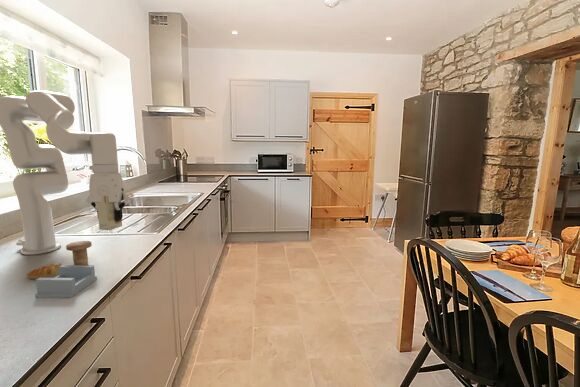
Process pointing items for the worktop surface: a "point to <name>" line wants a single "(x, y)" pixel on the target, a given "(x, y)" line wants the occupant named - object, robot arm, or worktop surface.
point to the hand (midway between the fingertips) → (110, 219)
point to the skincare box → (107, 215)
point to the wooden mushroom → (79, 251)
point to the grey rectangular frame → (66, 282)
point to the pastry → (45, 272)
